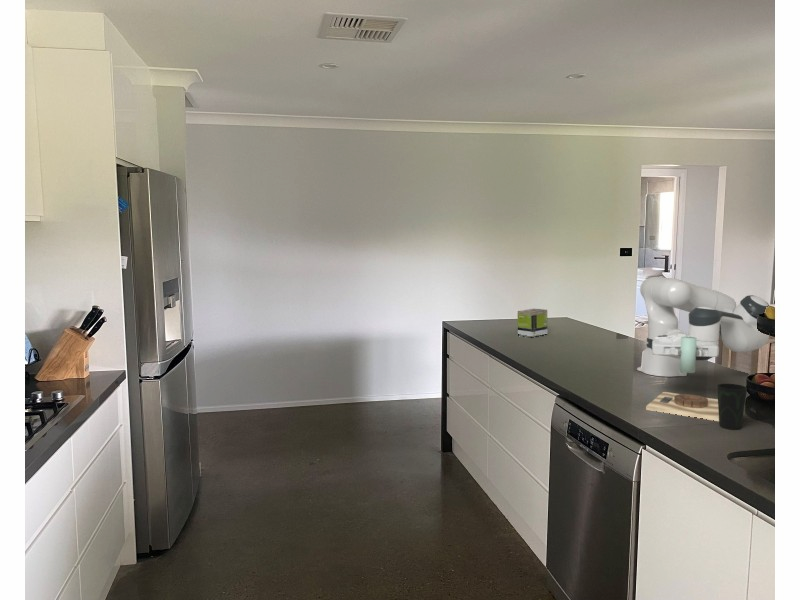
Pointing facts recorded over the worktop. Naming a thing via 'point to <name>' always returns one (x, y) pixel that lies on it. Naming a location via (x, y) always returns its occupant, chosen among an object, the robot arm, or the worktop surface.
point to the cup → (731, 405)
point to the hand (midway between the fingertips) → (688, 353)
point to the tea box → (532, 322)
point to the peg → (688, 354)
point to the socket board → (685, 405)
